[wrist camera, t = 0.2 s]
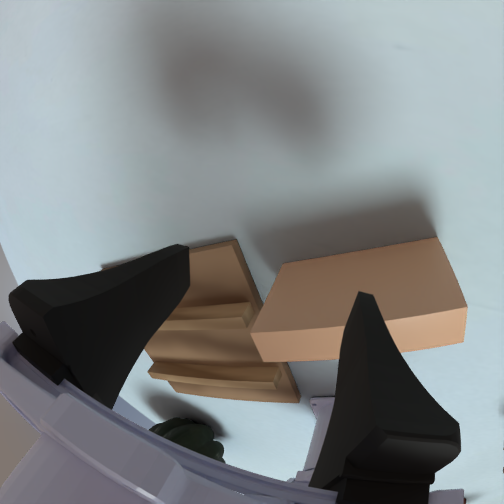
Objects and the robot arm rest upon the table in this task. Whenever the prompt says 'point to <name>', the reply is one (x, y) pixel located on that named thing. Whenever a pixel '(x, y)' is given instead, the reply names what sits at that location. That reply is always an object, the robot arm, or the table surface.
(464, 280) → the table surface
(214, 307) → the ribbed wooden panel
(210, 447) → the squash
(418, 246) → the clay block
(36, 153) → the table surface
